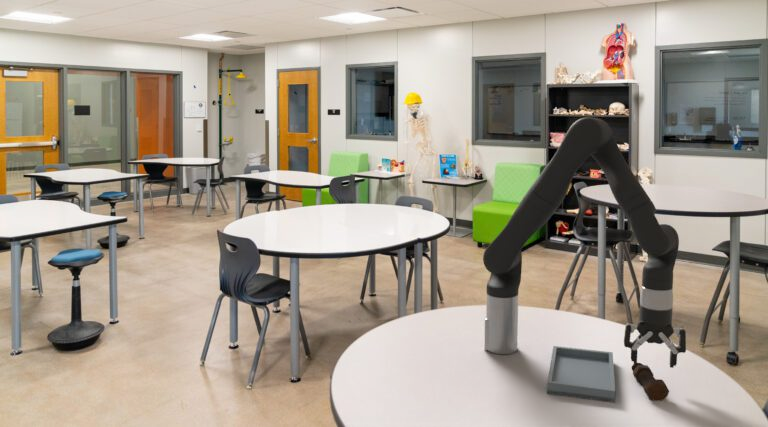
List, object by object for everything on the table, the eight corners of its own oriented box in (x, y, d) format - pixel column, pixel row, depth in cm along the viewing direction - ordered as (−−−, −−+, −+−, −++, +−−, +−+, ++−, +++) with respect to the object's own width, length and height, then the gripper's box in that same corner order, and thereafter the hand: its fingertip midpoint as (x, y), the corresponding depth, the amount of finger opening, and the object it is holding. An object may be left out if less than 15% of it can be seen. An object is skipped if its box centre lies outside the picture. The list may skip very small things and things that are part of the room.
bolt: (639, 380, 161) (659, 406, 146) (623, 371, 161) (641, 396, 146) (651, 363, 160) (673, 387, 145) (635, 353, 160) (655, 377, 145)
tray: (546, 393, 151) (547, 382, 150) (553, 355, 173) (553, 345, 173) (614, 402, 146) (615, 391, 145) (612, 362, 168) (612, 352, 167)
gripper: (626, 306, 149) (624, 367, 152) (690, 311, 144) (686, 374, 147) (625, 297, 156) (622, 355, 159) (685, 301, 151) (682, 361, 154)
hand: (653, 364), depth 153 cm, fingers open, 8 cm apart
